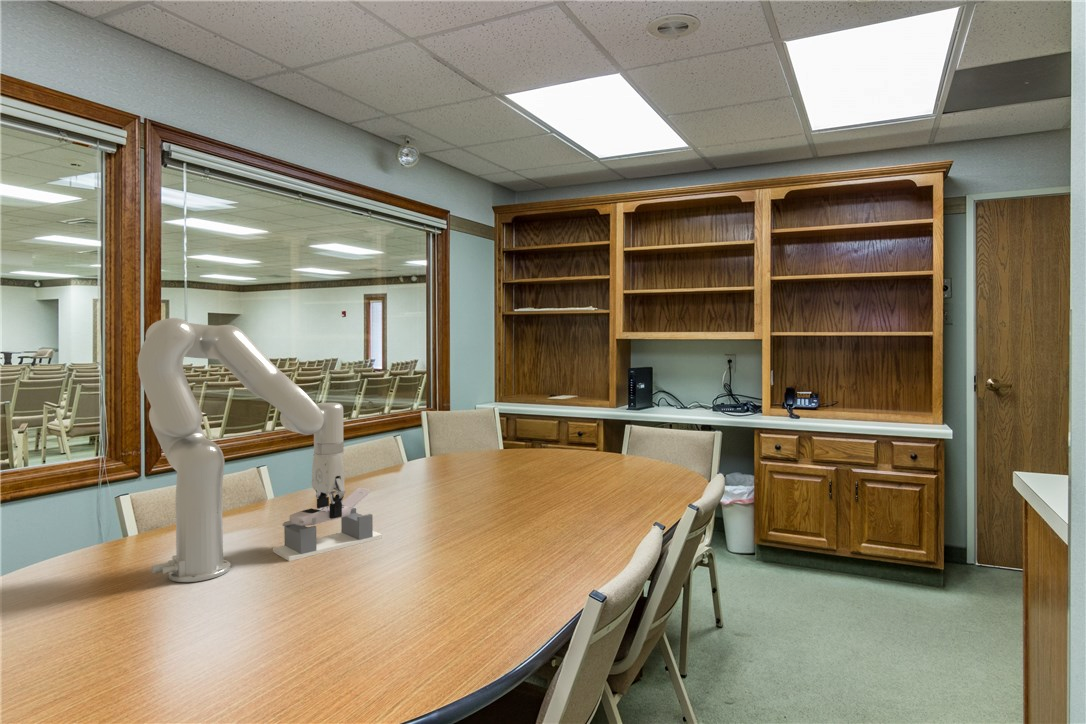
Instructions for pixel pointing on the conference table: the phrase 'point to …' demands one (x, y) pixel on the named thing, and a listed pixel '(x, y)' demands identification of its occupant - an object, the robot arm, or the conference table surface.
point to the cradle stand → (326, 537)
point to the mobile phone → (327, 510)
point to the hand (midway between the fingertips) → (329, 514)
